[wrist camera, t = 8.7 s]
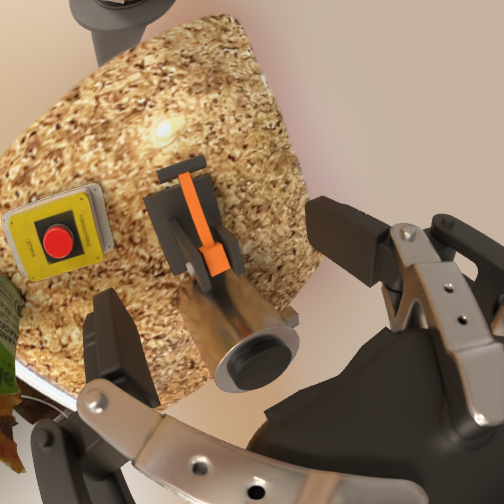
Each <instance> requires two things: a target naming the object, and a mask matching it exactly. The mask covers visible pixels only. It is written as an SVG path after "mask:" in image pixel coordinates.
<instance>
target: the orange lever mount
mask: <svg viewBox="0 0 504 504" xmlns="http://www.w3.org/2000/svg"><path fill="white" fill-rule="evenodd" d="M192 182H193V185H194V188H195V191H196V194H197V196H198V199H199V202H200V205H201V208H202V210H203V213H204V216H205V219H206V222H207V224H208V227H209V230H210V233H211V235H212V238H213V241H217V242H218V243H220V244H222V246H223V249H224V251H225V254H226V257H227V260H228V262H229V265H230V268H231V269H232V270H233V272H234V273H235V274H236V275H237V276H239V275H241V274H243V273H245V269H244V265H243V261H242V256H241V248H240V246H239V244H238V240H237V238H236V237H235V236H234V235H233V234H231V233H230V232H229V231H228V230H227V229H226V228H225V227H224V226H223V225H222V221H221V217H220V213H219V209H218V206H217V202H216V198H215V194H214V190H213V186H212V182H211V178H210V175H208V174H205V175H202V176H199V177H196V178H194V179H192ZM143 200H144V203H145V206H146V208H147V211H148V214H149V216H150V219H151V222H152V224H153V227H154V229H155V232H156V235H157V237H158V240H159V242H160V245H161V247H162V250H163V252H164V254H165V257H166V259H167V262H168V264H169V266H170V269H171V271H172V273H173V275H174V276H175V275H177V274H180V273H182V272H184V271H186V270H188V271H189V273H190V275H191V276H192V275H194V277H195V278H196V280H197V282H198V283H199V285H200V286H201V288H202V290H203V291H204V292H205V291H207V290H210V289H212V286H211V283H210V280H209V277H208V274H207V272H206V269H205V266H204V263H203V260H202V257H201V255H200V253H199V251H198V248H200V247H202V246H203V245H202V242H201V240H200V237H199V235H198V232H197V229H196V227H195V224H194V221H193V218H192V216H191V213H190V210H189V208H188V205H187V202H186V199H185V196H184V194H183V191H182V188H181V185H180V184H177V185H175V186H172V187H170V188H167V189H165V190H162V191H160V192H157V193H155V194H152V195H150V196H147V197H145V198H143Z"/></svg>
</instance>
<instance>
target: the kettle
mask: <svg viewBox="0 0 504 504" xmlns="http://www.w3.org/2000/svg"><path fill="white" fill-rule="evenodd" d="M206 272H207V271H206ZM207 274H208V277H209V280H210V283H211V286H212V289H210V290H207V291H205V292H204V291H203V290H202V288H201V286H200V285H199V283H198V282H197V280H196V278H195V277H194V275H192V276H191V275H190V273H189V274H188V275H187V276H186V277H185V278H184V279H183V281H182V282H181V284H180V286H179V288H178V291H177V297H176V301H177V306H178V309H179V311H180V313H181V315H182V318H183V320H184V322H185V324H186V326H187V328H188V330H189V332H190V334H191V336H192V339H193V341H194V343H195V345H196V347H197V349H198V351H199V353H200V355H201V356H202V358H203V360H204V362H205V364H206V366H207V368H208V370H209V372H210V374H211V375H212V377H213V379H214V381H215V383H216V385H217V386H218V387H219V388H220V389H221V390H223V391H225V392H229V393H243V392H247V391H251V390H255V389H258V388H261V387H263V386H265V385H267V384H269V383H271V382H272V381H273V380H275V379H276V378H278V377H279V376H280V375H281V374H282V373H283V372H284V371H285V369H286V368H287V367H288V365H289V364H290V363H291V362H292V360H293V359H294V357H295V355H296V353H297V351H298V347H299V336H298V334H297V332H296V331H295V330H294V329H293V328H294V327H296V326H298V325H299V319H298V318H299V317H298V313H297V312H296V311H295V310H294V309H293V308H292V307H291V306H289V307H287V308H285V309H283V310H282V311H280V312H277V311H276V310H275V308H274V307H273V306H272V305H271V304H270V303H269V302H268V301H267V300H266V299H265V298H264V296H263V295H262V294H261V293H260V292H259V291H258V290H257V289H256V288H255V287H254V286H253V284H252V283H251V282H250V281H249V280H248V279H247V278H246V277H245V276H244V274H241V275H239V276H237V275H236V274H235V273H234V272H233V270H232V269H231V268H230V269H228V270H226V271H223V272H221V273H219V274H217V275H215V276H213V277H212V276H211V275H210V274H209V273H208V272H207Z"/></svg>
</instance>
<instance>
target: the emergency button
mask: <svg viewBox="0 0 504 504" xmlns="http://www.w3.org/2000/svg"><path fill="white" fill-rule="evenodd" d="M1 223H2V226H3V229H4V232H5V235H6V238H7V241H8V244H9V247H10V249H11V252H12V255H13V257H14V260H15V262H16V264H17V267H18V269H19V272H20V273H21V275H22V276H24V277H28V278H29V279H30V280H31V281H32V282H37V281H40V280H43V279H46V278H49V277H53V276H56V275H59V274H63V273H66V272H69V271H72V270H76V269H79V268H83V267H86V266H89V265H93V264H96V263H99V262H101V261H102V259H103V257H104V254H105V253H108V252H110V251H112V250H113V248H114V240H113V236H112V232H111V228H110V224H109V220H108V215H107V211H106V206H105V202H104V197H103V192H102V188H101V186H100V185H99V184H97V183H91V184H88V185H84V186H81V187H77V188H74V189H71V190H67V191H64V192H61V193H58V194H55V195H52V196H49V197H46V198H43V199H40V200H37V201H34V202H32V203H29V204H26V205H23V206H21V207H18V208H16V209H13V210H10V211H8V212H6V213H5V214H4V215H3V216H2V219H1Z"/></svg>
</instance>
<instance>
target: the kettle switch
mask: <svg viewBox="0 0 504 504" xmlns="http://www.w3.org/2000/svg"><path fill="white" fill-rule="evenodd" d="M206 167H207V164H206V160H205V158H204V156H203V155H199V156H196V157H193V158H190V159H187V160H184V161H182V162H179V163H176V164H173V165H170V166H168V167H165V168H162V169H160V170H157V171H156V174H157V177H158V180H159V182H160V184H163V183H165V182H168V181H170V180H173V179H176V178H178V179H179V182H180V185H181V188H182V191H183V194H184V196H185V199H186V202H187V205H188V208H189V210H190V213H191V216H192V218H193V221H194V224H195V227H196V229H197V232H198V235H199V237H200V240H201V242H202V245H203V246H202V247H200V248H198V251H199V253H200V255H201V257H202V260H203V263H204V266H205V269H206V271H207V272H208V273H209V274H210V275H211V276H212V277H213V276H215V275H217V274H219V273H221V272H223V271H226V270H228V269H230V265H229V262H228V260H227V257H226V254H225V251H224V249H223V246H222V244H220V243H218V242H217V241H213V238H212V235H211V233H210V230H209V227H208V224H207V222H206V219H205V216H204V213H203V210H202V208H201V205H200V202H199V199H198V196H197V194H196V191H195V188H194V185H193V182H192V179H191V176H190V173H192V172H195V171H198V170H200V169H203V168H206Z"/></svg>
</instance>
